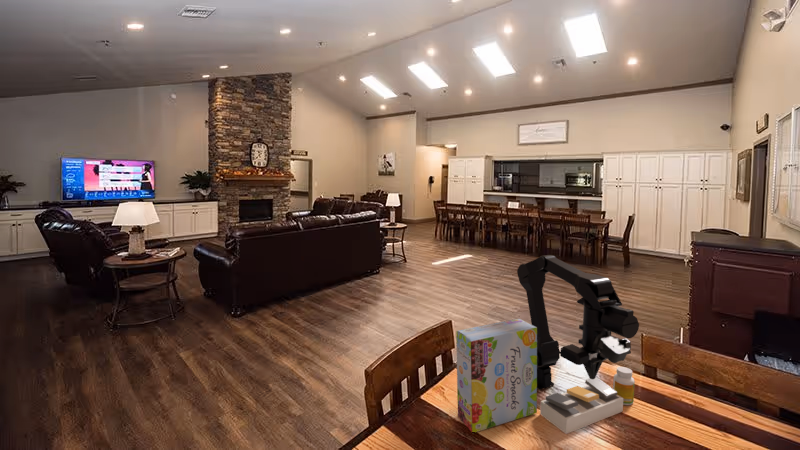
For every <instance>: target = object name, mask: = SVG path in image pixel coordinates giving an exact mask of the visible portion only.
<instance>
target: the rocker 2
mask: <svg viewBox="0 0 800 450" xmlns="http://www.w3.org/2000/svg"><path fill="white" fill-rule="evenodd" d="M584 383H585V384H586V386H587V385H589V386H590V387H591V388H592V389H594V390H595V391H596V392H598V393H599V394H600V395H602V396H603V397H604V398H606V399H607V398H610V397H613V396H615V395H617V391H615V390H614V389H613V387H611V386H610V385H609V384H607V383H606V382H605V381H603V380H601V378H599V377H598V376H596V377H595V379H590V378H587V379H585V381H584Z"/></svg>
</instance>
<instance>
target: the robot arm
mask: <svg viewBox="0 0 800 450" xmlns="http://www.w3.org/2000/svg"><path fill="white" fill-rule="evenodd" d="M516 273H517V277H518V280H519V281H518V282H519V284H520V285H521V287H523V289H524V290H525V292H526V298H527V304H528V310H529V316H530V321H531V323H530V324H531V325H533V326H535V327H537V390H543V389H546V388H550V387H553V386H555V383H554V381H552V377H553V376H552V367H553V366H556V365H557V362H558V361H559V360H560V358H563V359H566V360H567V361H569V362H571V363H572V364H574V365H577V366H581V365H583V367H584V370H585V371H586V373H587V375H588V377H589V378H588V379H595V377H597V375H598V372H599V370H600V368H601V365H602V364H603V363H604V361H606V360H608V361H609V362H611V363H613V364H617V363H618V362H619V363H620V362H621V361H622V362H623V361H625V359H626V357H627V355H630V354H631V353H632V351H631V348H632V347H631V346H632V343H631V341H630V340H629V339H632V338H634V337H635V336H636V335H637V333H638V332H639V327H640V323H639V320H638V318H637V316H635V315H634V313H635V312H634V310H632V309H629V308H624V307H622V306H623V303H622V301H621V299H620V297H619V296H618V293H617V292H616V290H615V288H614V286H613V284H612V281H611V279H609V278H608V277H606V276H602V275H600V274H595V273H589V272H584V271H582V270H581V269H578V268H577V267H575V266H573V265H570V264H568V263H567V262H564V261H563V260H561V259H558V258H557V257H556V256H555V255H552V254H547V255H540V256H539V257H537V258H535V259H534V260H531V261H528V262H525V263H521V264H519V266H518V268H517V271H516ZM548 273H551V274H552V275H554V276H555V277H557V278H559V279H561V280H563V281H565V282H566V283H568V284H569V285H571V286H573V288H574V289H575V291H576V293H577V294H579V296H581V298H579V299H578V300H577V301H576V303H577V304H579V305H582V306H583V312H582V314H583V316H582V323H581V324H579V326H578V329H579V330H581V331H582V333H581V334H582V335H581V336H582V337H581V338H580V339H578V342H577V343H578V344H579V345H582V346H580V347H579V346H578V345H575V344H573V343H572V344H567V345H564V346H562V347H561V348H560V346H559V345H560V344H559V341H558V340H555V339H554V338H553V337H552V335H551V334H550V327H549V322H548V321H549V320H548V315H547V309H546V304H545V299H544V292H543V289H544V285H545V283H546V274H548ZM605 299H606V300H605ZM612 333H613V334H617V335H618V336H620V337H623V338H621V339H620V337H619V338H618V337H616V336H613V335H612Z"/></svg>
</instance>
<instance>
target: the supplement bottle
mask: <svg viewBox="0 0 800 450" xmlns="http://www.w3.org/2000/svg"><path fill="white" fill-rule="evenodd" d="M612 381H613V382H612V388H613V389H614V390H615V391H617V395H618V396H620V397H622V398H623V406H631V405H633V404H634V400H635V399H634V398H635V378H634V377H633V370H632V369H631V368H629V367H626V366H617V367H616V373H615V374H614V375H613V380H612Z"/></svg>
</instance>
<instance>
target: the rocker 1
mask: <svg viewBox="0 0 800 450" xmlns="http://www.w3.org/2000/svg"><path fill="white" fill-rule="evenodd" d="M561 394H562V393H558V392H555V393H552V394H549V395H547V396H545V400H547V401H549V402H551V403H553V404H555V405H557V406H559V407H561V408H563V409H565V410H567V409H570V408H573V407H576V406H578V402H577V401H575V400H573V399H570V398H568V397H566V396H564V395H561Z"/></svg>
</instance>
